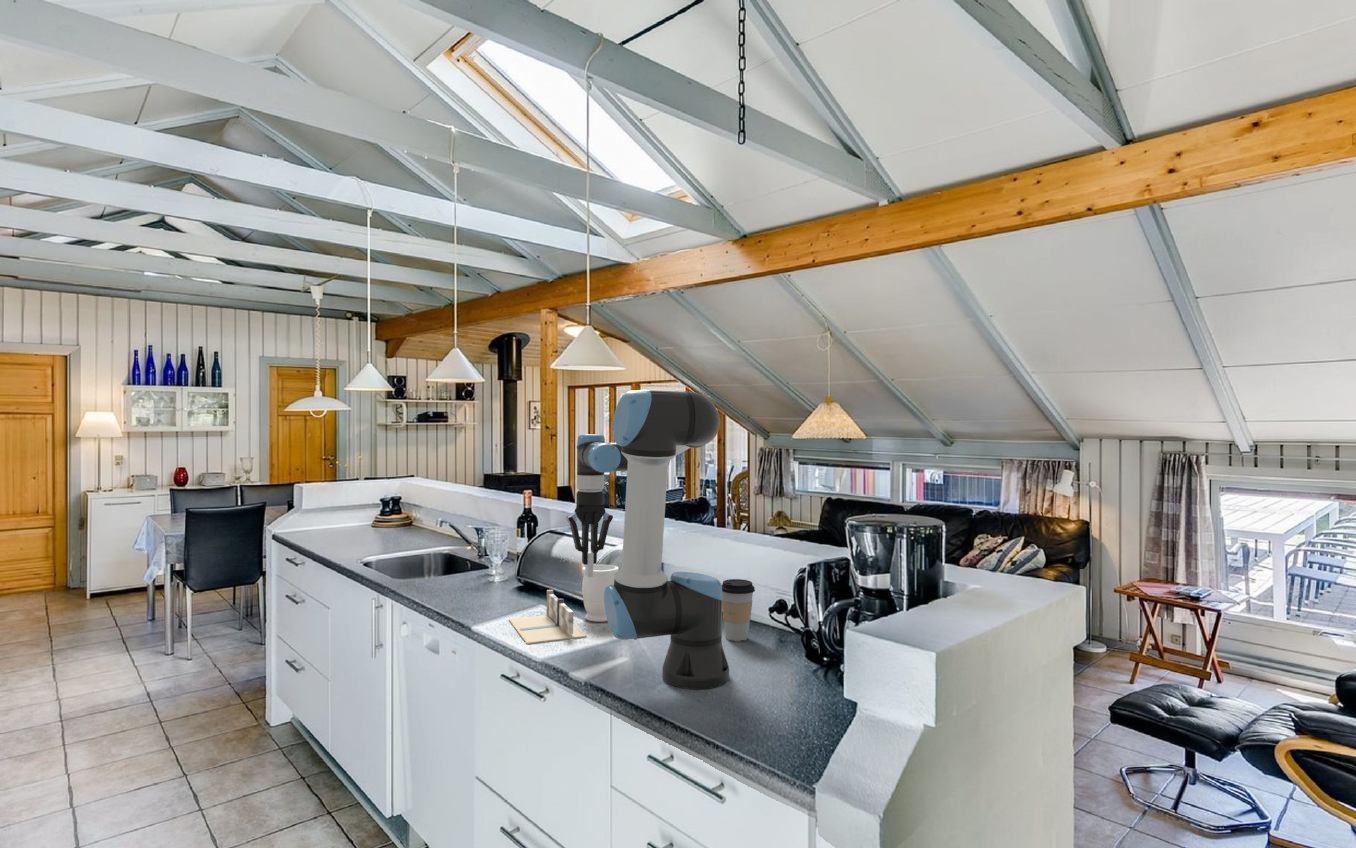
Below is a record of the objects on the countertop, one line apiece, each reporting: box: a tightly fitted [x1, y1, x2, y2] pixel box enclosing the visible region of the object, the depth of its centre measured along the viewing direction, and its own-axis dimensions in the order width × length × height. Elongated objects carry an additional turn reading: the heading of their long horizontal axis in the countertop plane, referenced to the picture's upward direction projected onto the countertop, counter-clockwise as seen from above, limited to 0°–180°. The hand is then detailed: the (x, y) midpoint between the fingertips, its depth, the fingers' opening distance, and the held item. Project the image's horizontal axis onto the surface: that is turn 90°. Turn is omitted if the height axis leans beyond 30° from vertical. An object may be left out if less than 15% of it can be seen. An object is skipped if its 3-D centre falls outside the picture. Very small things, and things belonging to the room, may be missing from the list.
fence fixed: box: [546, 589, 560, 626], centre depth 201 cm, size 14×2×7 cm, turn 24°
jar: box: [581, 563, 620, 623], centre depth 205 cm, size 11×10×15 cm
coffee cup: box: [721, 578, 756, 642], centre depth 188 cm, size 9×9×15 cm
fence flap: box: [557, 598, 574, 635], centre depth 192 cm, size 12×2×7 cm, turn 24°
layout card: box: [508, 614, 587, 645], centre depth 195 cm, size 24×16×1 cm, turn 24°
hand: (589, 576), depth 192 cm, fingers closed
